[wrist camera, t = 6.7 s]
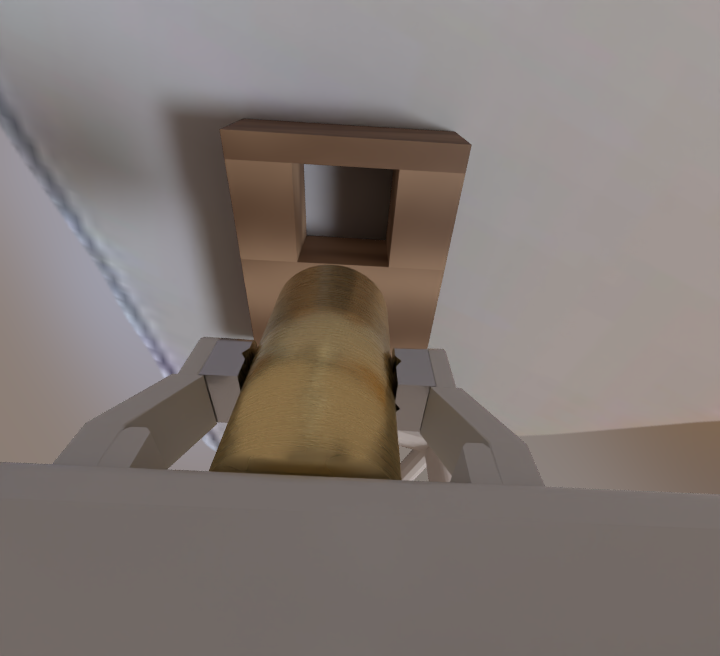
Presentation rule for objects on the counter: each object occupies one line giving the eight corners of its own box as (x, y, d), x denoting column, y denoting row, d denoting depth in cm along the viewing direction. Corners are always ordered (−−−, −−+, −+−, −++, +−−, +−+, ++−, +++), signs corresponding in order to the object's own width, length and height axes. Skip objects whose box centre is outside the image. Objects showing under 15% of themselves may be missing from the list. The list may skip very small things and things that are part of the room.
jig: (243, 118, 20) (200, 137, 15) (455, 131, 20) (484, 155, 15) (271, 339, 30) (250, 397, 24) (414, 347, 30) (424, 406, 25)
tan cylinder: (271, 261, 12) (179, 441, 6) (393, 268, 12) (417, 452, 6) (280, 354, 14) (221, 547, 8) (382, 359, 14) (392, 554, 8)
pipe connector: (444, 439, 37) (464, 542, 29) (356, 414, 35) (353, 517, 27) (502, 377, 32) (548, 484, 24) (403, 342, 29) (417, 446, 21)
